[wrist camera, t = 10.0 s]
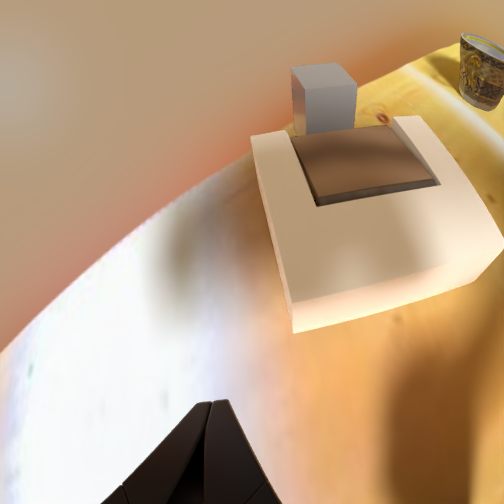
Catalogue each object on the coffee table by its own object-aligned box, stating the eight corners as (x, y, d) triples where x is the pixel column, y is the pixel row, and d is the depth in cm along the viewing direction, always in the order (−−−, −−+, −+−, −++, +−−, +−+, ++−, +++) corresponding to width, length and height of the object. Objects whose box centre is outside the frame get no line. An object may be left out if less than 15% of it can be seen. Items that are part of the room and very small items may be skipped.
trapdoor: (434, 191, 20) (436, 183, 20) (321, 212, 20) (321, 203, 20) (385, 132, 26) (386, 125, 25) (291, 145, 26) (290, 137, 25)
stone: (337, 62, 27) (335, 122, 33) (290, 66, 27) (294, 127, 33) (357, 84, 24) (351, 148, 31) (304, 89, 24) (306, 155, 31)
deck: (472, 282, 21) (507, 244, 16) (293, 333, 22) (291, 303, 17) (407, 160, 29) (419, 115, 24) (258, 185, 29) (249, 136, 24)
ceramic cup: (467, 79, 38) (477, 32, 29) (511, 112, 33) (527, 64, 24) (427, 90, 36) (438, 32, 28) (479, 128, 31) (499, 68, 23)
